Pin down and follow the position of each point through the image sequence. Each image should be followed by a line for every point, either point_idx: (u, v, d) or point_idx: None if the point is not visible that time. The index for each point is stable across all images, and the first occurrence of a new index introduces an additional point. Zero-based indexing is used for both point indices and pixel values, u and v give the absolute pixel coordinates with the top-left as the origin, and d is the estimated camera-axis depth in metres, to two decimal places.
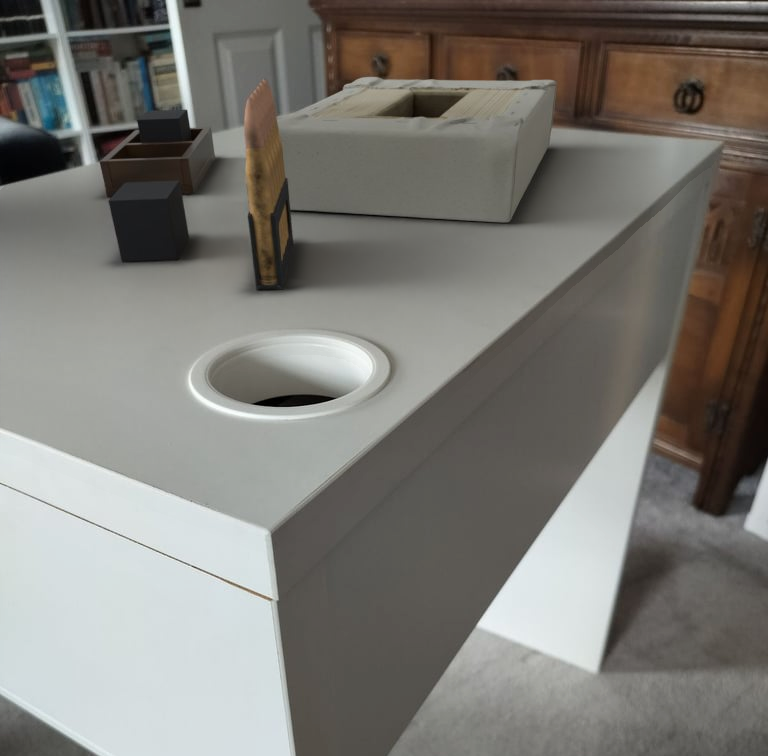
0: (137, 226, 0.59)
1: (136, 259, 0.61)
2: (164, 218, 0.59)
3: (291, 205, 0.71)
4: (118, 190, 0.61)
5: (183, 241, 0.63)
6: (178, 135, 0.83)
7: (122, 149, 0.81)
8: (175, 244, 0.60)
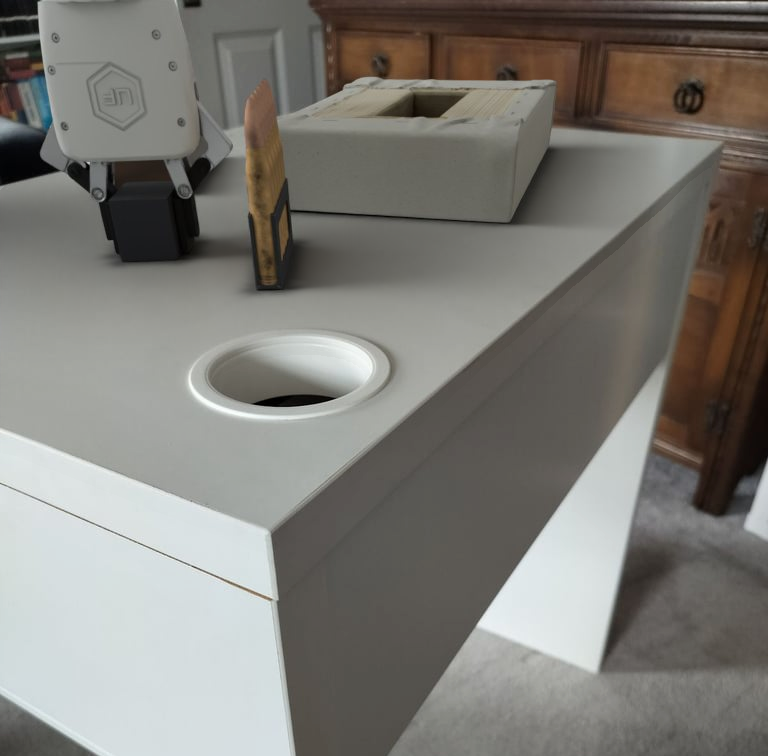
0: (137, 226, 0.59)
1: (136, 259, 0.61)
2: (164, 218, 0.59)
3: (291, 205, 0.71)
4: (118, 190, 0.61)
5: None
6: None
7: None
8: (175, 244, 0.60)
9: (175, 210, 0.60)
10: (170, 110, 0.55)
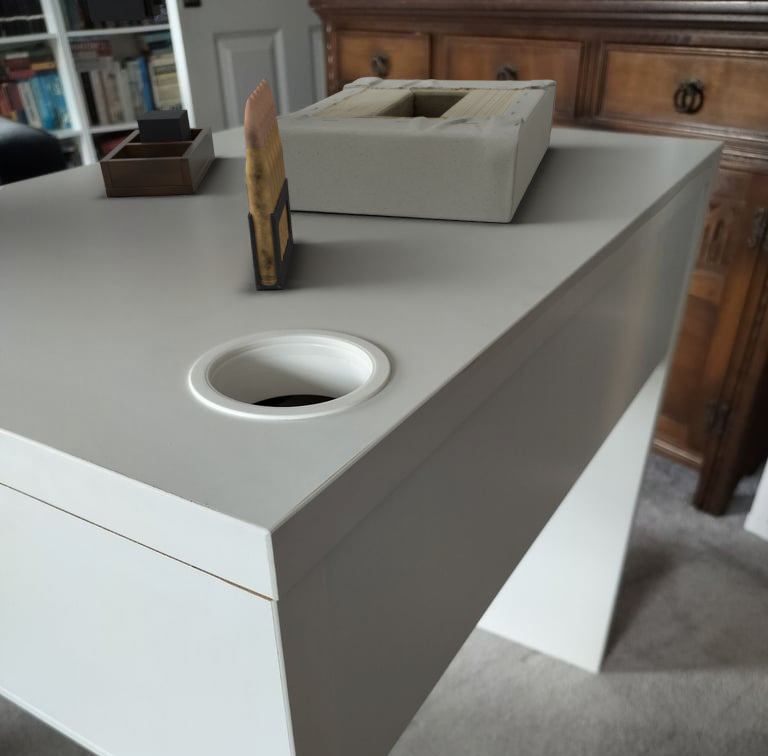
0: None
1: (104, 19, 0.66)
2: None
3: (291, 205, 0.71)
4: None
5: None
6: (178, 135, 0.83)
7: (122, 149, 0.81)
8: (140, 4, 0.66)
9: None
10: None
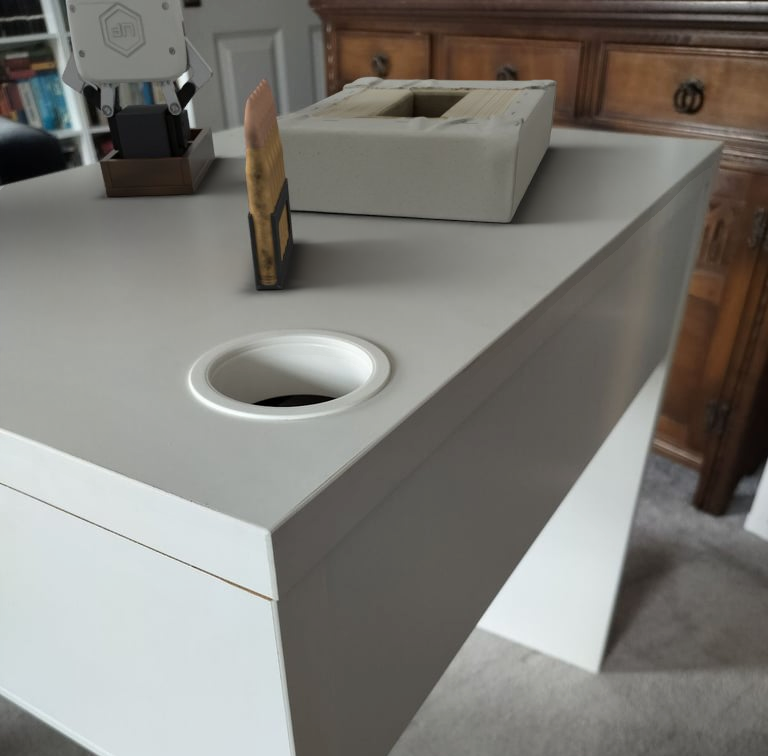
0: (137, 136, 0.76)
1: None
2: (159, 130, 0.76)
3: (292, 205, 0.71)
4: (123, 109, 0.77)
5: None
6: None
7: None
8: (167, 151, 0.77)
9: (167, 124, 0.76)
10: (163, 41, 0.71)
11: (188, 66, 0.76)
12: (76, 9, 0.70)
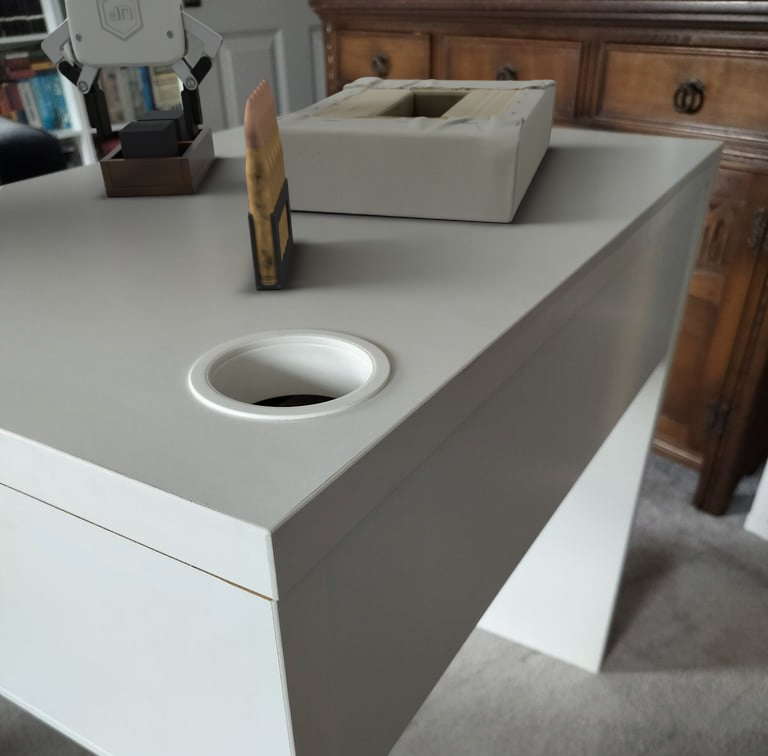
0: (140, 153, 0.77)
1: None
2: (161, 146, 0.76)
3: (292, 205, 0.71)
4: (125, 126, 0.78)
5: None
6: (178, 135, 0.83)
7: None
8: None
9: (183, 99, 0.75)
10: (161, 24, 0.71)
11: (186, 51, 0.75)
12: None
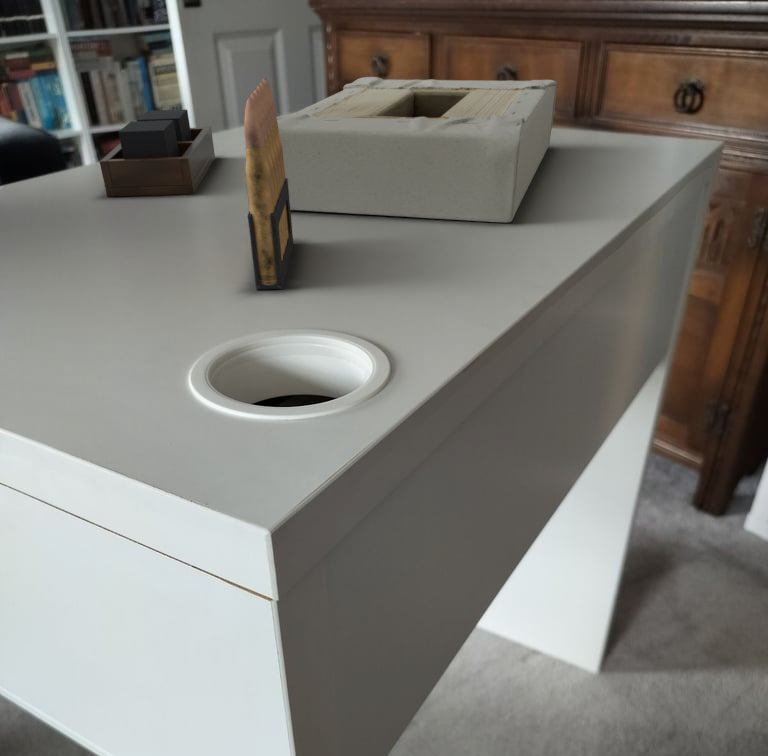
0: (140, 153, 0.77)
1: None
2: (161, 146, 0.76)
3: (292, 205, 0.71)
4: (125, 126, 0.78)
5: None
6: (178, 135, 0.83)
7: None
8: None
9: None
10: None
11: None
12: None
